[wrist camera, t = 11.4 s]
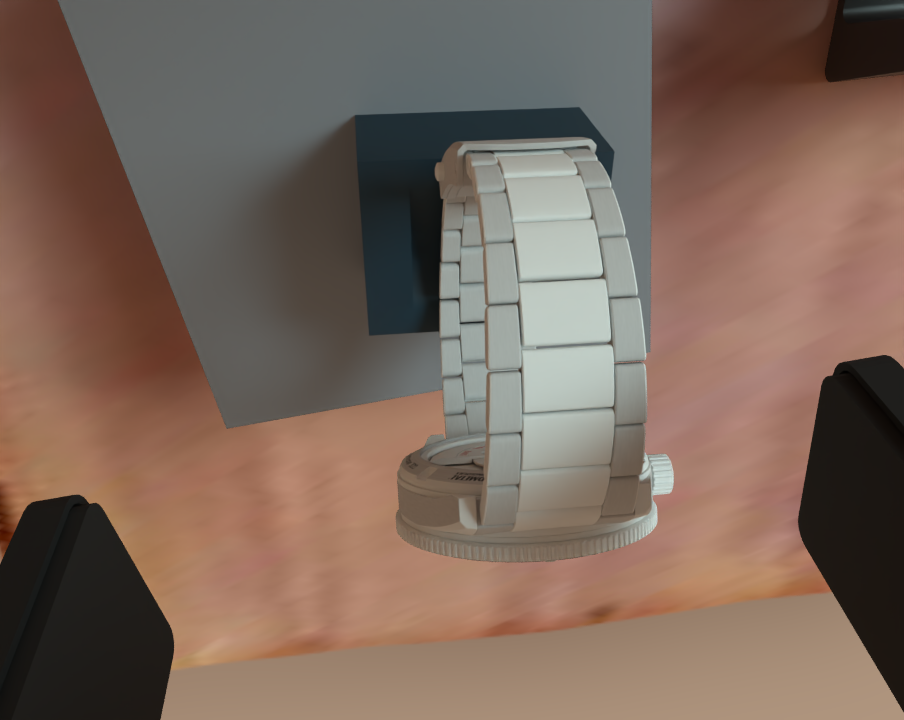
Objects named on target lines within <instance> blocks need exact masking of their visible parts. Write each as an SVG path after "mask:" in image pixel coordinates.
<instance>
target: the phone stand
mask: <svg viewBox="0 0 904 720" xmlns="http://www.w3.org/2000/svg"><path fill="white" fill-rule="evenodd" d="M903 74H904V0H839V1H838V6H837V11H836V16H835V21H834V27H833V32H832V37H831V42H830V47H829V53H828V58H827V63H826V68H825V75H826V78H827V80H828V81H829V82H837V81H847V80H856V79H865V78H875V77H884V76H894V75H903Z"/></svg>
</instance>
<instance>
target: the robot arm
mask: <svg viewBox="0 0 904 720" xmlns="http://www.w3.org/2000/svg"><path fill="white" fill-rule="evenodd" d="M798 525H799V531H800V535H801V538H802V541H803V543H804V545H805V547H806V549H807V550H808V552H809V554H810V555H811V557H812V559H813V560H814V562H815V564H816V565H817V567H818V569H819V570H820V572H821V574H822V575H823V577H824V579H825V581H826V582H827V584H828V586H829V587H830V589H831V591H832V592H833V594H834V596H835V597H836V599H837V601H838V602H839V604H840V606H841V607H842V609H843V611H844V612H845V614H846V616H847V618H848V619H849V621H850V623H851V624H852V626H853V627H854V629H855V631H856V633H857V634H858V636H859V638H860V639H861V641H862V643H863V644H864V646H865V648H866V650H867V651H868V653H869V655H870V656H871V658H872V660H873V661H874V663H875V664H876V666H877V668H878V670H879V671H880V673H881V675H882V676H883V678H884V680H885V681H886V683H887V685H888V686H889V688H890V690H891V692H892V693H893V695H894V697H895V698H896V700H897V701H898V703H899V705H900V707H901V708H902V710H903V712H904V368H903V367H902V366H901V365H900V364H899V363H898V362H897V361H896V360H895V359H893V358H892V357H891V356H887V355H882V356H876V357H870V358H864V359H859V360H853V361H847V362H842V363H839V364H838V365H837V367H836V368H835V370H834V373H833V376H828V377H825V379H824V380H823V382H822V386H821V391H820V397H819V403H818V408H817V414H816V420H815V425H814V431H813V437H812V442H811V448H810V454H809V459H808V465H807V471H806V477H805V482H804V488H803V494H802V499H801V505H800V511H799V516H798ZM173 654H174V639H173V633H172V630H171V627H170V625H169V623H168V622H167V620H166V618H165V616H164V615H163V613H162V611H161V609H160V608H159V606H158V604H157V602H156V601H155V599H154V597H153V595H152V594H151V592H150V590H149V588H148V587H147V585H146V583H145V582H144V580H143V578H142V576H141V575H140V573H139V571H138V569H137V568H136V566H135V564H134V562H133V561H132V559H131V557H130V555H129V554H128V552H127V550H126V548H125V547H124V545H123V543H122V541H121V540H120V538H119V536H118V534H117V533H116V531H115V529H114V527H113V526H112V524H111V522H110V520H109V519H108V517H107V515H106V514H105V512H104V510H103V509H102V507H101V506H100V505H99V504H97V503H91V504H89V503H88V502H87V500H86V499H85V498H84V497H82V496H81V495H71V496H65V497H59V498H53V499H48V500H42V501H36V502H32V503H31V504H29V505H28V506H27V507H26V509H25V511H24V512H23V514H22V517H21V519H20V521H19V523H18V526H17V528H16V530H15V532H14V535H13V537H12V539H11V541H10V543H9V546H8V548H7V550H6V552H5V555H4V557H3V559H2V561H1V564H0V720H160V719H161V714H162V709H163V704H164V699H165V694H166V689H167V683H168V679H169V674H170V670H171V665H172V660H173Z"/></svg>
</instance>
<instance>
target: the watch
mask: <svg viewBox="0 0 904 720" xmlns="http://www.w3.org/2000/svg"><path fill="white" fill-rule="evenodd" d="M355 128H356V150H357V169H358V183H359V198H360V212H361V227H362V241H363V256H364V270H365V285H366V299H367V314H368V328H369V336H373V335H389V334H406V333H422V332H439V331H440V338H448V337H459V339H458V338H457V339H441V340H440V347H441V377H442V378H447V377H461V378H447V379H443V380H442V387H443V410H444V417H445V433H446V439H445V440H444V435H443V434H442V435H431V436H430V437H429V438H428V439H427V442H426V444H425V446H424V447H423V448H421V449H419V450H417V451H415V452H413V453H411V454H409V455H408V456H406V457H405V458H404V459H403V461H402V463H401V465H400V468H399V470H398V473H397V477H398V479H397V484H398V500H399V510H398V511H397V513H396V529H397V532H398V534H399V535H400V537H402V539H404V541H407V543H410V544H411V545H413V546H415V547H417V548H420V549H422V550H426V551H429V552H432V553H436V554H440V555H444V556H449V557H455V558H461V559H468V560H477V561H490V562H540V561H545V562H553V561H556V560H563V559H571V558H578V557H584V556H589V555H594V554H598V553H603V552H607V551H610V550H614V549H617V548H621V547H623V546H626V545H629V544H632V543H633V542H636V541H638V540H640V539H641V538H644V537H645V536H647V534H649V533H650V532H652V530H653V529H654V528H655V526H656V524H657V506H656V504H655V502H654V501H653V495H659V494H669V493H671V491H672V489H673V484H674V476H673V469H672V465H671V461H670V459H669V457H668V456H667V455H666V454H653V455H646V453H645V452H644V450H645V425H644V424H643V423H646V422H647V382H646V367H645V364H644V363H641V362H633V363H618V364H614V362H630V361H644V360H645V359H646V346H645V335H644V326H643V318H642V310H641V303H640V299H639V298H637V297H635V296H636V295H637V294H638V290H637V283H636V277H635V271H634V266H633V261H632V256H631V252H630V247H629V243H628V239H627V238H626V237H624V236H625V226H624V222H623V219H622V215H621V211H620V208H619V205H618V202H617V199H616V196H615V193H614V191H613V189H612V188H611V178H612V170H613V161H614V153H615V151H614V150H613V149H612V147H611V146H610V145H609V144H608V142H607V141H606V140H605V139H604V137H603V136H602V135H601V134H600V132H599V131H598V130H597V129H596V127H595V126H594V125H593V124H592V122H591V121H590V120H589V118H588V117H587V116H586V115H585V113H584V112H583V111H582V110H581V108H580V107H570V108H541V109H512V110H483V111H455V112H426V113H397V114H369V115H355ZM632 297H635V298H632ZM615 298H617V299H615ZM608 299H610V300H608ZM601 342H607V344H602V345H587V346H571V347H555V348H539V349H536V347H538V346H553V345H569V344H585V343H601ZM477 361H485V363H469V364H461V362H477ZM477 401H481V402H477ZM465 402H467V403H465Z"/></svg>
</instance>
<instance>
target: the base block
mask: <svg viewBox="0 0 904 720" xmlns="http://www.w3.org/2000/svg"><path fill="white" fill-rule="evenodd" d="M58 3H59V5H60V8H61V10H62V13H63V15H64V18H65V20H66V23H67V25H68V28H69V30H70V33H71V35H72V38H73V41H74V43H75V46H76V48H77V51H78V53H79V56H80V58H81V61H82V63H83V66H84V68H85V71H86V73H87V76H88V79H89V81H90V84H91V86H92V89H93V91H94V94H95V96H96V99H97V101H98V104H99V106H100V109H101V111H102V114H103V116H104V119H105V122H106V124H107V127H108V129H109V132H110V134H111V137H112V139H113V142H114V144H115V147H116V149H117V152H118V154H119V157H120V160H121V162H122V165H123V167H124V170H125V172H126V175H127V177H128V180H129V182H130V185H131V187H132V190H133V192H134V195H135V197H136V200H137V203H138V205H139V208H140V210H141V213H142V215H143V218H144V220H145V223H146V225H147V228H148V230H149V233H150V235H151V238H152V241H153V243H154V246H155V248H156V251H157V253H158V256H159V258H160V261H161V263H162V266H163V268H164V271H165V273H166V276H167V279H168V281H169V284H170V286H171V289H172V291H173V294H174V296H175V299H176V301H177V304H178V306H179V309H180V311H181V314H182V316H183V319H184V322H185V324H186V327H187V329H188V332H189V334H190V337H191V339H192V342H193V344H194V347H195V349H196V352H197V354H198V357H199V360H200V362H201V365H202V367H203V370H204V372H205V375H206V377H207V380H208V382H209V385H210V387H211V390H212V392H213V395H214V398H215V400H216V403H217V405H218V408H219V410H220V413H221V415H222V418H223V420H224V423H225V425H226V428H227V429H228V428H234V427H239V426H245V425H250V424H256V423H261V422H267V421H272V420H278V419H283V418H289V417H294V416H300V415H305V414H311V413H316V412H322V411H327V410H333V409H339V408H344V407H350V406H355V405H361V404H366V403H372V402H377V401H383V400H388V399H394V398H399V397H405V396H410V395H416V394H421V393H427V392H432V391H438V390H443V387H442V380H443V379H447V378H461V377H447V378H442V377H441V347H440V340H441V339H457V338H458V339H459V337H448V338H440V331H439V332H422V333H406V334H389V335H373V336H369V328H368V314H367V299H366V285H365V270H364V256H363V241H362V227H361V212H360V198H359V183H358V169H357V150H356V128H355V115H369V114H397V113H426V112H455V111H483V110H512V109H541V108H570V107H580V108H581V110H582V111H583V112H584V113H585V115H586V116H587V117H588V118H589V120H590V121H591V122H592V124H593V125H594V126H595V127H596V129H597V130H598V131H599V132H600V134H601V135H602V136H603V137H604V139H605V140H606V141H607V142H608V144H609V145H610V146H611V147H612V149H613V150H614V151H615V153H614V161H613V170H612V178H611V188H612V189H613V191H614V193H615V196H616V199H617V202H618V205H619V208H620V211H621V215H622V219H623V222H624V226H625V236H624V237H626V238H627V239H628V243H629V247H630V252H631V256H632V261H633V266H634V271H635V277H636V283H637V290H638V294H637V295H636V296H635V297H637V298H639V299H640V303H641V310H642V318H643V326H644V335H645V346H646V353H648V352H650V314H651V115H652V0H58ZM635 297H632V298H635ZM615 299H617V298H615ZM608 300H610V299H608ZM602 344H607V342H601V343H585V344H569V345H553V346H538V347H536V349H539V348H555V347H571V346H587V345H602ZM469 363H485V361H477V362H461V364H469Z"/></svg>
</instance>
